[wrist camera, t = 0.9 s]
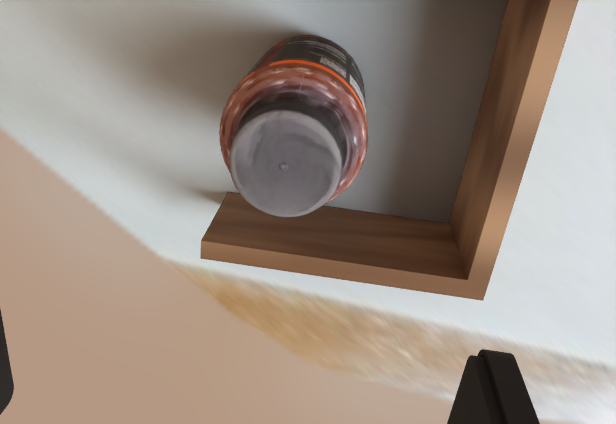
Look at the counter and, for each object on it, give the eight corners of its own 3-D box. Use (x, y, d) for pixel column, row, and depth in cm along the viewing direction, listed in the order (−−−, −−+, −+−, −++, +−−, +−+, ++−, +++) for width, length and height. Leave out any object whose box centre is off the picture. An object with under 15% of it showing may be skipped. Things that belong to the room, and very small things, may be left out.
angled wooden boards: (244, -77, 26) (213, -85, 20) (540, -38, 25) (589, -35, 20) (227, 207, 32) (200, 258, 27) (462, 241, 32) (483, 300, 26)
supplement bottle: (255, 143, 30) (202, 239, 20) (251, 32, 28) (188, 77, 18) (362, 146, 30) (364, 246, 20) (368, 34, 27) (373, 81, 17)
